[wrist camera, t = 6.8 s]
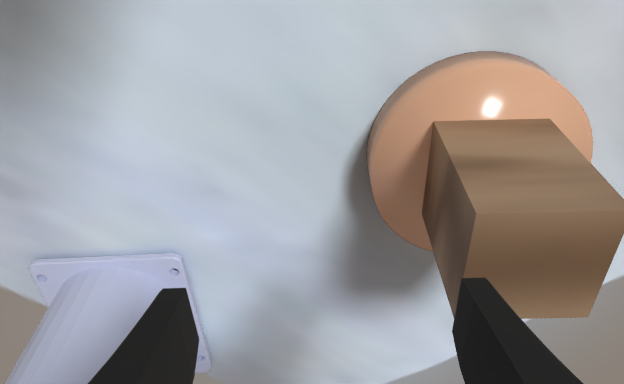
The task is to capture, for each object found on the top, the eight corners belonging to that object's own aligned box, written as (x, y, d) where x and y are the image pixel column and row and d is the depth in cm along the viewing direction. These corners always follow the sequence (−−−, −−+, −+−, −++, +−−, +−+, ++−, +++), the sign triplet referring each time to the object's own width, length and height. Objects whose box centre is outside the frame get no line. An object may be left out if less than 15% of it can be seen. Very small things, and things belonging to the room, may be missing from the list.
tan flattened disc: (547, 223, 25) (564, 250, 23) (366, 232, 25) (370, 259, 23) (594, 44, 19) (621, 61, 18) (367, 57, 20) (372, 76, 18)
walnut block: (524, 211, 22) (587, 317, 17) (421, 213, 22) (454, 319, 17) (549, 118, 19) (633, 210, 14) (433, 121, 19) (476, 213, 14)
